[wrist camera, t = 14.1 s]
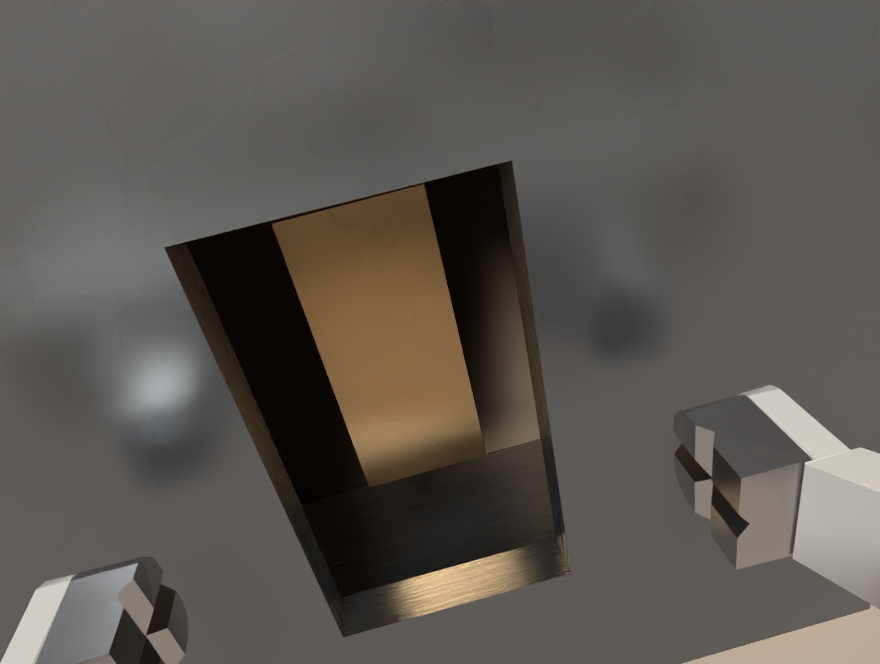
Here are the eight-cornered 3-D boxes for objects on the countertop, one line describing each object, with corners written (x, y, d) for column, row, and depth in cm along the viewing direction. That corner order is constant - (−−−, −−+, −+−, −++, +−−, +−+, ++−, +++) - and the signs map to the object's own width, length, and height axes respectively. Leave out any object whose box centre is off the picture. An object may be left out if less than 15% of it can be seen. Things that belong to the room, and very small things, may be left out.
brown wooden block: (396, 131, 16) (423, 184, 12) (450, 352, 20) (486, 454, 16) (284, 161, 16) (271, 224, 12) (358, 378, 20) (369, 487, 15)
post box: (714, -208, 14) (1105, -401, 7) (703, 421, 23) (869, 608, 16) (-201, 0, 13) (-795, 15, 6) (163, 568, 22) (91, 834, 15)
